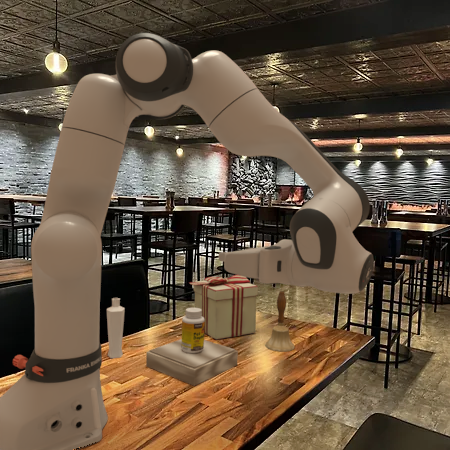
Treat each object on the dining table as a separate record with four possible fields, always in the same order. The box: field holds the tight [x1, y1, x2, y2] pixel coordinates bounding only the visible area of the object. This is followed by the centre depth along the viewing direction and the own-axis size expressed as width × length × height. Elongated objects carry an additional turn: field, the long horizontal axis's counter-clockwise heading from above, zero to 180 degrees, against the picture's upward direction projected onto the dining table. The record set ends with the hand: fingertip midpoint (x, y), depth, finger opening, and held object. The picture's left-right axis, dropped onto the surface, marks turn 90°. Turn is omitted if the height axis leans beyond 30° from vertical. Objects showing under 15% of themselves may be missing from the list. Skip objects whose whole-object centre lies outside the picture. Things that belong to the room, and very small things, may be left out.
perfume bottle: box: [106, 297, 126, 359], centre depth 112 cm, size 5×4×15 cm
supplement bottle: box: [181, 307, 205, 353], centre depth 108 cm, size 6×6×10 cm
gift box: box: [188, 274, 259, 340], centre depth 137 cm, size 17×18×17 cm
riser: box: [145, 338, 239, 387], centre depth 108 cm, size 16×16×4 cm
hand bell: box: [264, 290, 295, 353], centre depth 123 cm, size 8×8×16 cm
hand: (234, 253), depth 95 cm, fingers open, 8 cm apart
